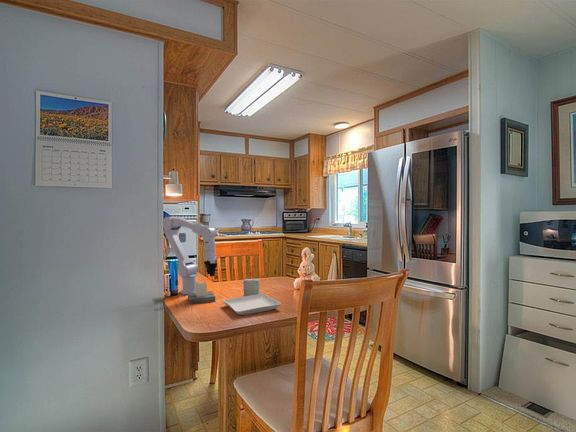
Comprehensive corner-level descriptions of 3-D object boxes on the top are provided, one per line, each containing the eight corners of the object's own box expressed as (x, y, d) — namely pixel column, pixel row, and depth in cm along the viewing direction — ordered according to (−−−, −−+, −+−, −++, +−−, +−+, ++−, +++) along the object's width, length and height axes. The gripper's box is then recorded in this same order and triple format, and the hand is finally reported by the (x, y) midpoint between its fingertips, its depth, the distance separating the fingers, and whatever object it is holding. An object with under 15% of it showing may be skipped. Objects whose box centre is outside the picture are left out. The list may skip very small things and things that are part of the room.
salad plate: (236, 319, 132) (236, 310, 132) (222, 306, 151) (222, 299, 151) (282, 310, 142) (282, 303, 142) (263, 300, 161) (263, 293, 161)
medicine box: (260, 295, 169) (259, 278, 169) (258, 297, 165) (258, 280, 165) (245, 295, 170) (245, 278, 170) (243, 297, 166) (243, 280, 165)
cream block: (195, 294, 164) (195, 282, 164) (205, 293, 166) (205, 281, 166) (196, 296, 159) (196, 284, 159) (207, 295, 161) (206, 283, 161)
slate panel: (188, 299, 166) (187, 293, 166) (211, 296, 170) (211, 291, 170) (190, 305, 155) (190, 299, 155) (215, 302, 159) (215, 296, 159)
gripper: (219, 250, 168) (221, 276, 168) (215, 248, 181) (216, 272, 181) (206, 251, 165) (207, 278, 165) (202, 249, 178) (203, 273, 178)
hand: (211, 275), depth 173 cm, fingers open, 7 cm apart
